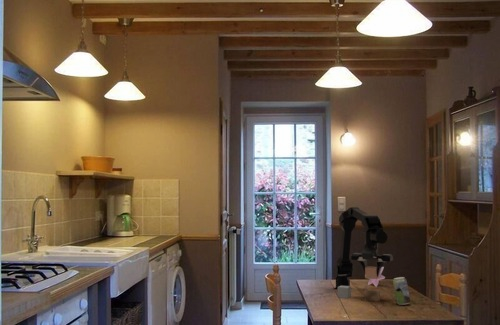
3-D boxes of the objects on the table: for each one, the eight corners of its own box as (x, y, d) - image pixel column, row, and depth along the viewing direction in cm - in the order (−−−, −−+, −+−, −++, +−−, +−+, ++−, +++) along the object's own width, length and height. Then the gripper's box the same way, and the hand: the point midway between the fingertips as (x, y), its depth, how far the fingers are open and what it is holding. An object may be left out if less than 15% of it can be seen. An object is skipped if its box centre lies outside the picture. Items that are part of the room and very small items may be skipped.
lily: (364, 285, 311) (359, 271, 308) (382, 276, 313) (378, 262, 310) (374, 295, 300) (369, 280, 297) (393, 286, 302) (389, 271, 299)
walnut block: (364, 300, 260) (364, 292, 260) (367, 298, 265) (367, 290, 265) (377, 301, 257) (377, 292, 258) (380, 299, 263) (380, 290, 263)
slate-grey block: (337, 297, 268) (337, 287, 268) (341, 296, 272) (341, 285, 273) (347, 298, 265) (347, 287, 266) (351, 296, 270) (350, 286, 270)
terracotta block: (365, 278, 261) (365, 267, 261) (368, 277, 265) (368, 266, 266) (375, 279, 259) (375, 268, 259) (378, 277, 263) (378, 266, 263)
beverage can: (411, 306, 245) (410, 278, 246) (393, 305, 247) (393, 278, 247) (409, 303, 251) (409, 276, 252) (392, 303, 253) (392, 276, 253)
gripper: (346, 242, 260) (347, 276, 259) (386, 244, 252) (387, 279, 251) (354, 241, 270) (354, 273, 269) (392, 242, 261) (393, 276, 260)
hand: (372, 275), depth 262 cm, fingers closed on terracotta block, 5 cm apart
